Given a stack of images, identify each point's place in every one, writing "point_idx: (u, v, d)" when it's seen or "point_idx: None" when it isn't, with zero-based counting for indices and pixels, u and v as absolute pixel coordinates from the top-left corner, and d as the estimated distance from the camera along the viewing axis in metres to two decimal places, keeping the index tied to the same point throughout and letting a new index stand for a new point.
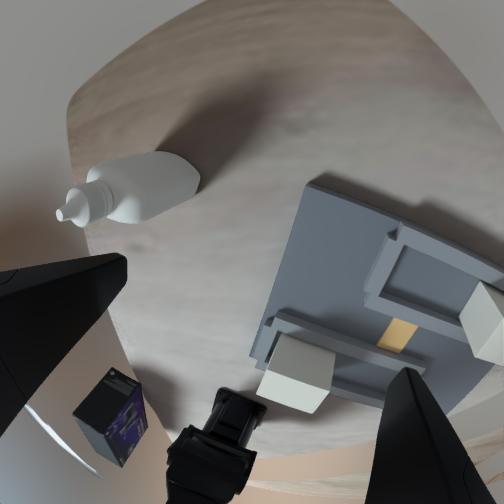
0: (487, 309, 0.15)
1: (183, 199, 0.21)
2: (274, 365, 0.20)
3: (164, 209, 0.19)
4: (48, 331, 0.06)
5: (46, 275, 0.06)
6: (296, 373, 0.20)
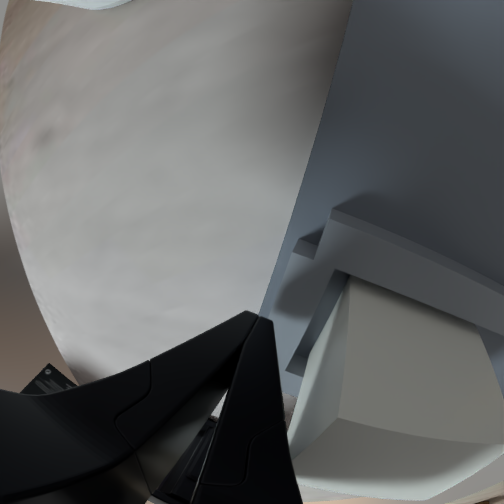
0: None
1: None
2: (360, 393, 0.04)
3: None
4: (193, 425, 0.05)
5: (197, 366, 0.05)
6: (435, 413, 0.04)
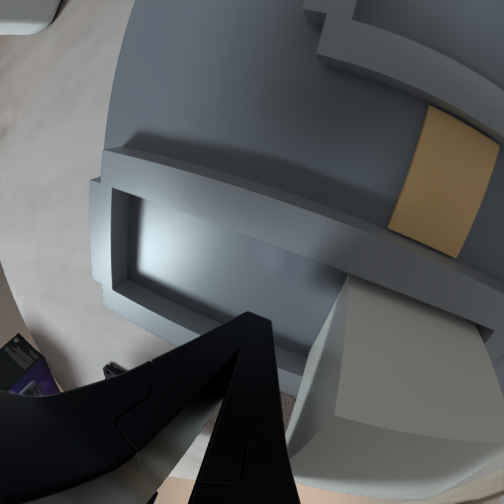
0: None
1: (26, 14, 0.07)
2: (357, 391, 0.04)
3: None
4: (194, 426, 0.05)
5: (199, 366, 0.05)
6: (434, 412, 0.04)
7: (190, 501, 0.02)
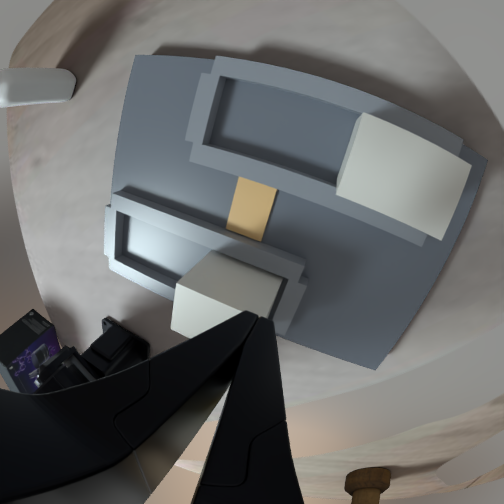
0: (354, 131, 0.12)
1: (55, 95, 0.18)
2: (188, 279, 0.15)
3: (33, 97, 0.15)
4: (192, 424, 0.05)
5: (196, 365, 0.05)
6: (217, 293, 0.15)
7: (194, 503, 0.02)
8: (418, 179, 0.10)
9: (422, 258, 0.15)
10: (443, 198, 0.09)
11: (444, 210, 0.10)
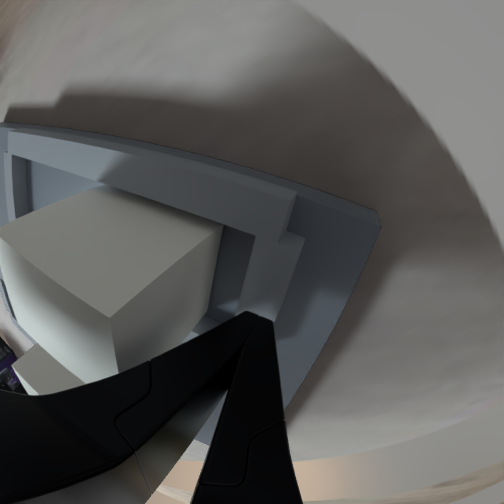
0: None
1: None
2: (20, 362, 0.12)
3: None
4: (193, 425, 0.05)
5: (198, 366, 0.05)
6: (37, 380, 0.11)
7: (193, 502, 0.02)
8: (55, 326, 0.06)
9: None
10: (94, 361, 0.05)
11: None
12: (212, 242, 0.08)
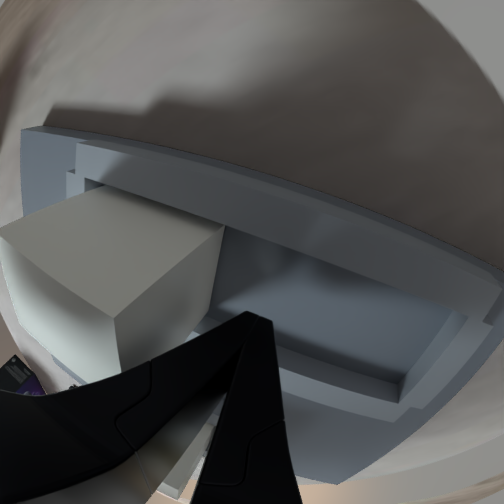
0: None
1: None
2: None
3: None
4: (193, 425, 0.05)
5: (198, 366, 0.05)
6: None
7: (193, 502, 0.02)
8: (57, 326, 0.06)
9: (397, 418, 0.10)
10: (97, 361, 0.05)
11: None
12: (214, 243, 0.08)
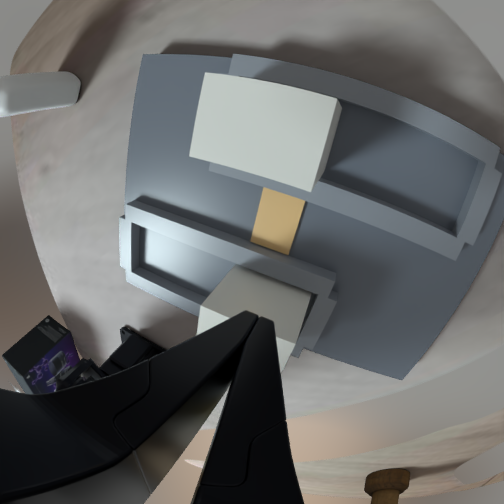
0: None
1: (59, 100, 0.17)
2: (212, 301, 0.15)
3: (35, 105, 0.15)
4: (192, 424, 0.05)
5: (196, 365, 0.05)
6: None
7: (194, 503, 0.02)
8: (268, 125, 0.09)
9: (454, 270, 0.14)
10: (303, 142, 0.09)
11: (307, 156, 0.09)
12: (339, 114, 0.12)
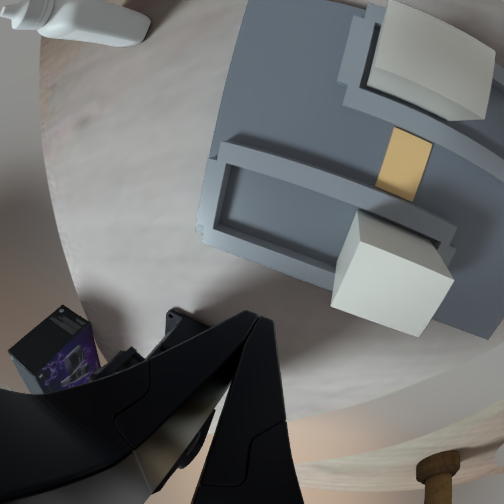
0: (381, 28, 0.09)
1: (128, 32, 0.14)
2: (367, 238, 0.12)
3: (103, 28, 0.12)
4: (192, 425, 0.05)
5: (196, 365, 0.05)
6: (402, 253, 0.12)
7: (194, 503, 0.02)
8: (450, 56, 0.07)
9: None
10: (477, 77, 0.07)
11: (481, 88, 0.07)
12: None
